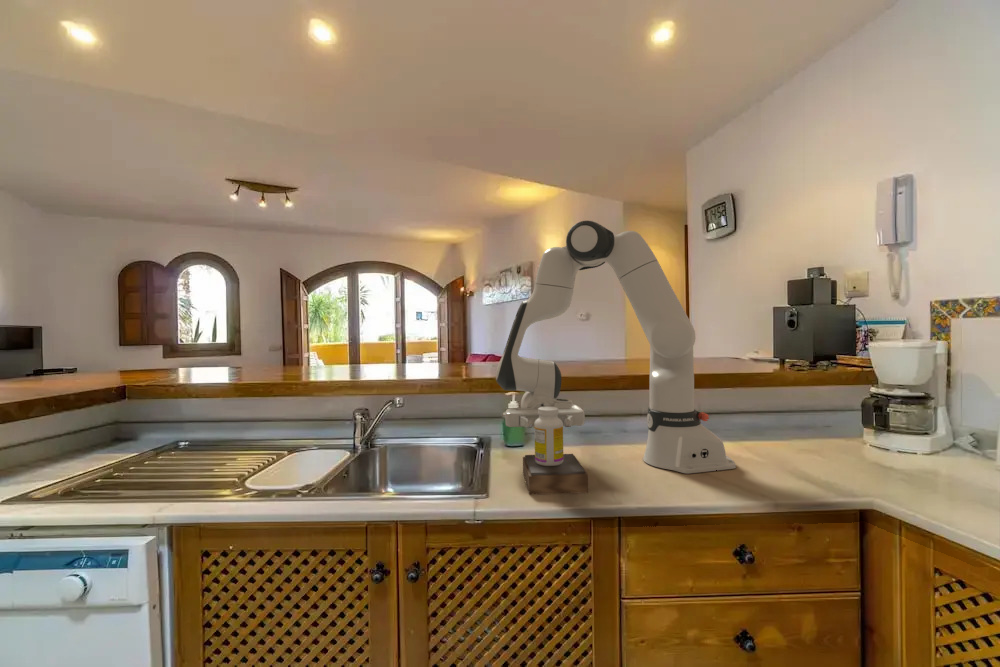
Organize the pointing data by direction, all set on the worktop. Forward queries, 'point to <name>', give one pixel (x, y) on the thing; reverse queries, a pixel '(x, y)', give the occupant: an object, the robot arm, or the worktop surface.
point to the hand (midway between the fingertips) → (548, 424)
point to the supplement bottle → (548, 437)
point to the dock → (555, 476)
